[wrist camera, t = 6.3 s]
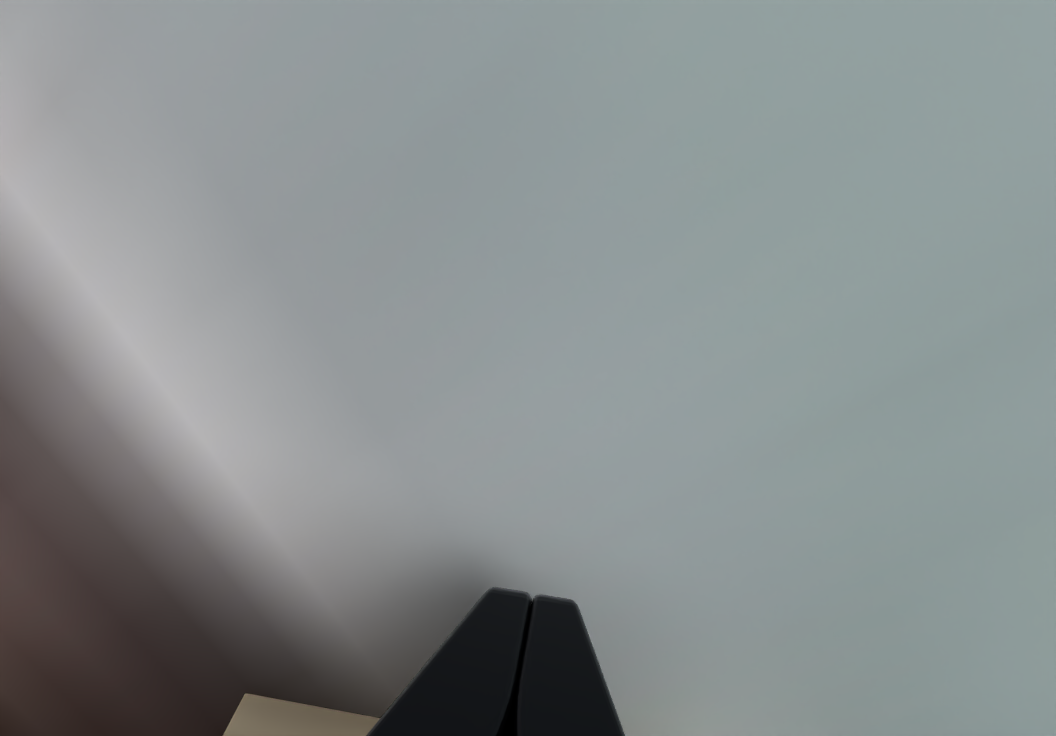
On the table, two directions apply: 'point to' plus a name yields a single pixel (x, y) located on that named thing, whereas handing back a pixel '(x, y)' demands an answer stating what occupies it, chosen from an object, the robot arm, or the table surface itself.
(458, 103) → the table surface
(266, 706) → the birch block
